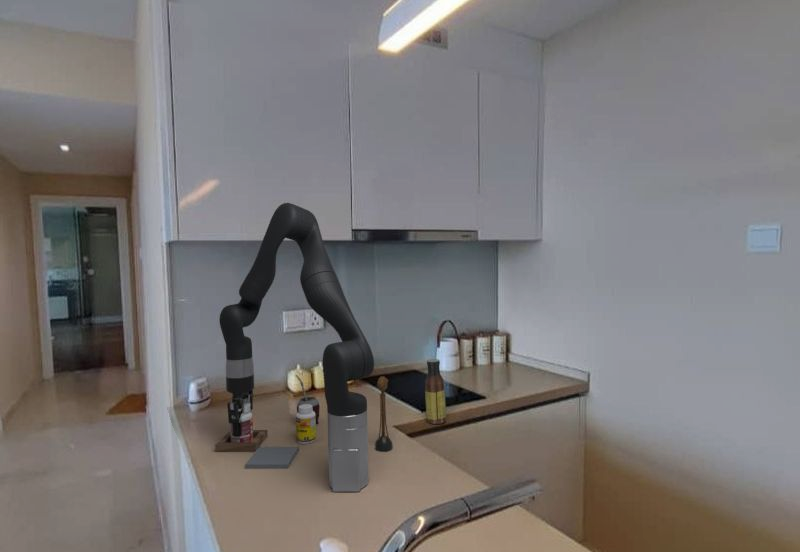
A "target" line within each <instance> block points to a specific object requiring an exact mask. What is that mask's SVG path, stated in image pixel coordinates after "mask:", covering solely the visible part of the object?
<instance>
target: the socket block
mask: <svg viewBox="0 0 800 552" xmlns="http://www.w3.org/2000/svg"><path fill="white" fill-rule="evenodd" d="M267 438H268V429H253V440H252V441H251V442H231V433H230V430H229V431H228V432H227V433H226V434H225V435H224V436H223V437H222V438H220V439H219V441H218V442H216V443H215V445H214V449H215V450H214V451H215V453H255V452H256V450H257V449H258V448H259V447H261V445H262V444H263V442H264V441H266V439H267Z"/></svg>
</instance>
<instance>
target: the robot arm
mask: <svg viewBox="0 0 800 552" xmlns="http://www.w3.org/2000/svg"><path fill="white" fill-rule="evenodd" d="M319 226H320V225H319V222H318V219H317V218H316V216H315V215H314V213H313V212H312V211H310V210H308V209H306V208H303V207H301V206H299V205H296V204H294V203H290V202H284V203H282V204H280V205H279V206H278V207H277V208H276V209H275V210H274V212H273V214H272V216H271V219H270V221H269V224H268V226H267V228H266V232H264V233H265V234H264V236H263V239H262V242H261V244H260V247H259V249H258V251H257V252H258V253H257V255H256V257H255V260H254V261H253V264H252V266H251V268H250V269H249V272H248V273H247V275H246V276H245V278H244V280H243V282H242V284H241V285H240V287H239V290H238V294H239V297H240V300H239V302H238V303H234V304H229V305H226V306H224V307H223V308H222V310H221V311H220V314H219V321H218V322H219V327H220V331H221V333H222V337H223V341H224V342H225V356H226V357H225V359H226V361H225V386H226V391H227V393H230V394H232V398H231V399H230V400H231V401H230V402H227V405H226V406H227V415H228V416H227V417H228V418H227V419H228V424H230V423H233V436H234V437H240V436H241V435H242V424H241V421H242V415H243V414H244V411H245V405H246V403H250V409H251V410H250V411H249V412H251V413H252V410H253V407H254V406H253V404H254V389H255V369H254V359H253V343H252V339H251V338H250V337H249V336H245V334H244V328H246V327H249V326H250V325H252V324H253V323H254V322H255V321H256V319H257V318H258V315H259V314H260V309H261V306H262V303H263V300H264V298H265V296H266V295H267V293H268V292H269V291H270V288H271V286H272V285H273V283H274V281H275V279H276V278H275V277H276V272H277V270H276V268H277V254H278V250H279V248H280V246H281V245H282V243H283V241H284V240H285V239H289V240H291V241H294V242H296V244H297V246H298V248H299V249H300V252H301V255H302V257H303V262H302V266H301V267H302V268H301V270H300V276H299V280H300V284H301V285H300V286H301V289H302V291H303V294H304V297H305V299H306V302H307V304H308V305H309V306H310V308H311V309H312V310H313V312H315V314H317V315H318V316H319V317H321V318H322V319H323V320H324V321H326V322H327V323H328V324H329V325H330V326H331V327H332V329H334V331H335V332H337V335H338V336H339V337H340V340H341V341H340V342H339V341H338V342H333V343H329V344H327V346H325V348H324V350H323V353H322V373H323V386H324V389H323V390H324V398H325V402H326V405H327V410H326V412H327V448H328V449H327V452H328V484H329V485H328V486H329V487H330V488H332V492H337V493H340V492H349V493H350V492H354V493H356V492H361V489H363V488H365V487H366V486H367V485H368V483H369V481H370V479H369V478H370V477H369V476H370V475H369V443H368V442H369V441H368V439H369V438H368V400H367V398H366V396H365V395H364V394H362V393H359V392H353V391H350V390H349V383H348V382H352V381H353V382H354V381H357V380H361V379H366V378H368V377H370V376H371V375H372V373H373V372H374V368H375V360H374V355H373V351H372V349H371V346H370V345H369V344H370V343H369V342H368V340H367V338H366V336H365V334H364V333H363V330H362V329H361V327H360V326H359V323H358V322H357V320H356V318H355V316H354V314H353V312H352V310H351V307H350V305H349V303H348V301H347V298H346V296H345V293H344V290H343V287H342V285H341V283H340V280H339V278H338V276H337V274H336V270H335V269H334V267H333V264H332V262H331V260H330V256H329V254H328V251H327V249H326V247H325V244H324V241H323V237H322V233H321V229H320V227H319ZM241 408H242V409H241ZM238 409H241V411H238ZM235 417H236V419H235Z"/></svg>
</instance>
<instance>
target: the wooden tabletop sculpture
mask: <svg viewBox="0 0 800 552" xmlns="http://www.w3.org/2000/svg"><path fill="white" fill-rule="evenodd" d="M388 384H389V379H388V378H386V377H385V376H380V377H379V378H378V379H377V384H376V386H377V388H378V390H379V391H380V394H379V404H380V405H379V406H380V407H379V408H380V412H379V413H380V419H379V432H378V438H377V439H376V441H375V444H374V449H375V451H377V452H380V453H387V452H390V451H392V450H393V448H394V446H393V442H392V440H391V438H390V437H389V433H388V426H387V414H386V413H387V411H386V410H387V409H386V395H387V394H386V393H385V391H386V390H387V389H388Z"/></svg>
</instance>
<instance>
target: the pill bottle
mask: <svg viewBox="0 0 800 552" xmlns="http://www.w3.org/2000/svg"><path fill="white" fill-rule="evenodd" d="M241 409H242V408H241ZM241 409H238V411H241ZM250 410H251V409H250V403H246V405H245V411H244V414H243V415H242V421H241V424H242V435H241V436H240V437H234V436H233V423H229V426H230V429H229V431H230V433H231V442H251V441H252V440H253V430H254V421H253V420H254V419H253V418H254V416H253V413H252V410H251V412H249V411H250ZM235 419H236V417H235Z"/></svg>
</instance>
